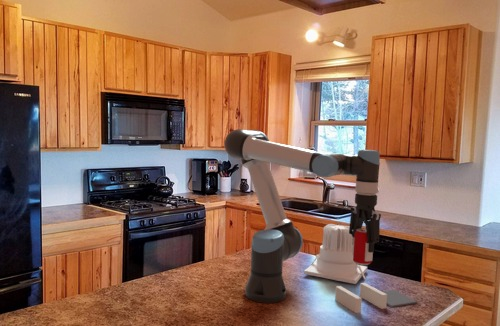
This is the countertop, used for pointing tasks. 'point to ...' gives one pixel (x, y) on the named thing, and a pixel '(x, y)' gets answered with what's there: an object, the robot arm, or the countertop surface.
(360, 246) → the beverage can
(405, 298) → the mat
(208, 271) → the countertop surface
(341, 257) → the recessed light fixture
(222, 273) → the countertop surface
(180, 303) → the countertop surface
